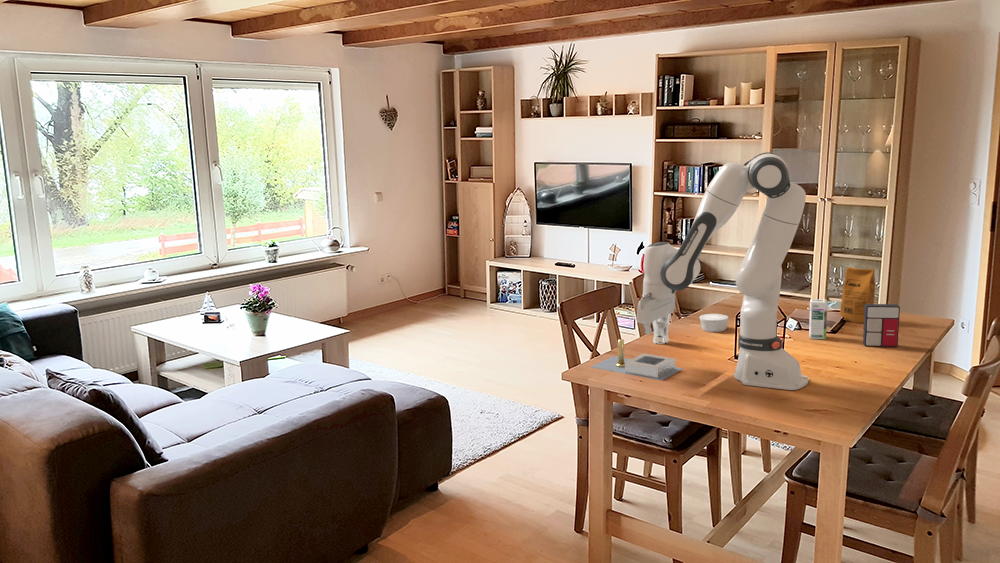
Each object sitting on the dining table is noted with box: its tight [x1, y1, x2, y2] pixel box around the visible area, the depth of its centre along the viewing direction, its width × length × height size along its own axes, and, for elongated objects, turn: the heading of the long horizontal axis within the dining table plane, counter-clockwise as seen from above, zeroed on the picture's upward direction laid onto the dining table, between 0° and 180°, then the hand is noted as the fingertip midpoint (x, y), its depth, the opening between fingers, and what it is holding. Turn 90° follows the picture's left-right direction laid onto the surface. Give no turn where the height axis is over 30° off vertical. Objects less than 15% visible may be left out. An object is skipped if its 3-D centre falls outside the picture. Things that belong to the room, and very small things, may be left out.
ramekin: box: [699, 313, 729, 333], centre depth 306 cm, size 11×11×5 cm
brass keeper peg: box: [615, 338, 625, 367], centre depth 258 cm, size 4×4×9 cm
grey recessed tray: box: [625, 352, 676, 379], centre depth 252 cm, size 12×12×4 cm
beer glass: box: [651, 314, 671, 345], centre depth 290 cm, size 7×7×15 cm
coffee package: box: [839, 266, 876, 324], centre depth 309 cm, size 10×12×22 cm
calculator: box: [862, 303, 901, 348], centre depth 273 cm, size 11×4×15 cm, turn 76°
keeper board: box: [590, 355, 684, 381], centre depth 256 cm, size 27×15×2 cm, turn 50°
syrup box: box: [808, 298, 828, 340], centre depth 287 cm, size 6×6×14 cm
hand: (655, 331), depth 254 cm, fingers open, 8 cm apart
